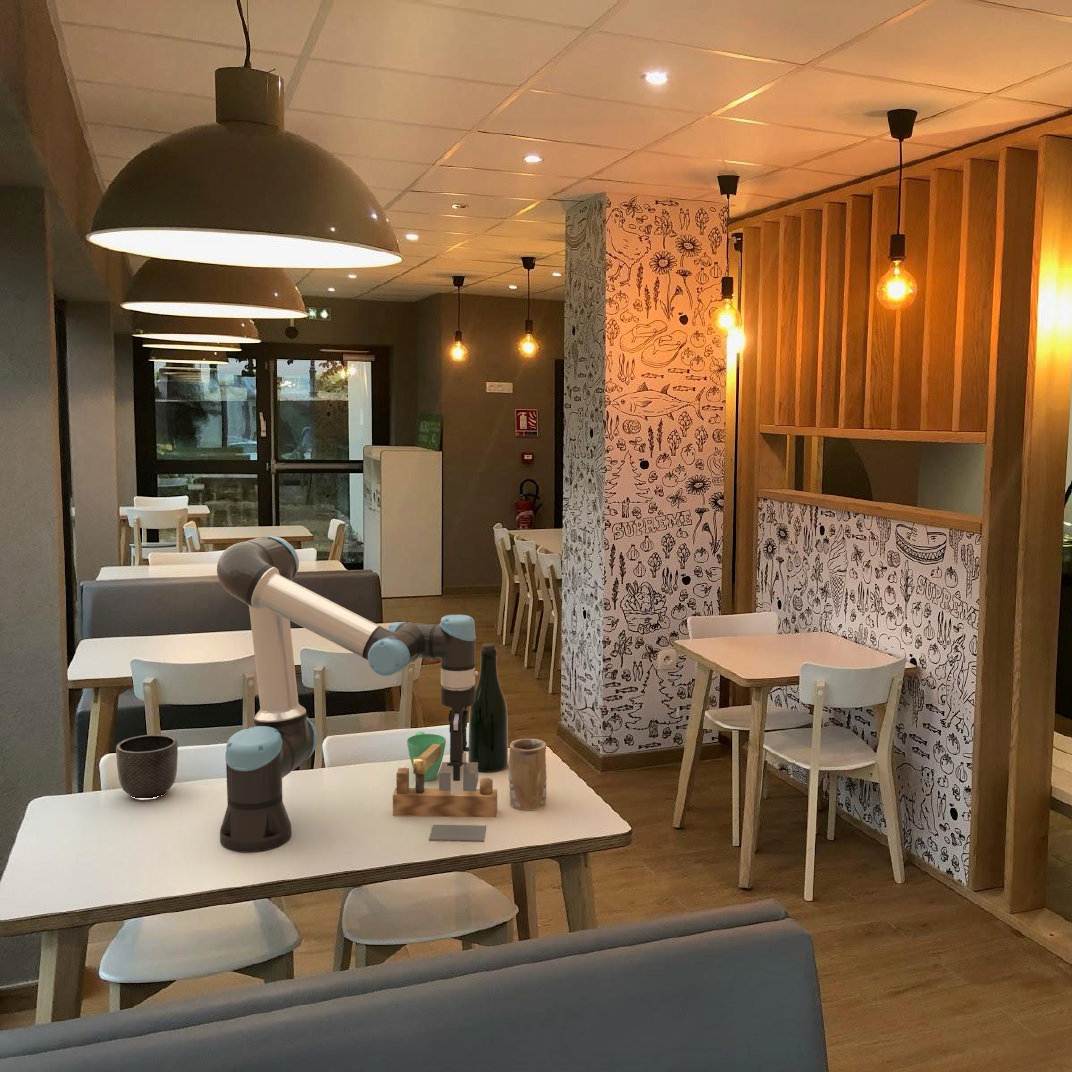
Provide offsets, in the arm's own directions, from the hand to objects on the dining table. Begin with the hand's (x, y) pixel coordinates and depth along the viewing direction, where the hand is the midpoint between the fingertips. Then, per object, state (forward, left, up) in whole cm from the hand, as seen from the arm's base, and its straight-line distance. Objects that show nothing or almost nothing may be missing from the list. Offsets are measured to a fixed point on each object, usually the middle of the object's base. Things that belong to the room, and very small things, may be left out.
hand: (458, 787), depth 229 cm
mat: (0, 0, -11) cm, 11 cm away
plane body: (-4, +12, -11) cm, 17 cm away
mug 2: (+14, +20, -11) cm, 27 cm away
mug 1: (-12, +37, -11) cm, 40 cm away
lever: (-9, +17, -1) cm, 19 cm away
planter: (-77, +20, -11) cm, 80 cm away
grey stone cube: (0, 0, 0) cm, 0 cm away
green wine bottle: (+4, +44, -11) cm, 46 cm away
